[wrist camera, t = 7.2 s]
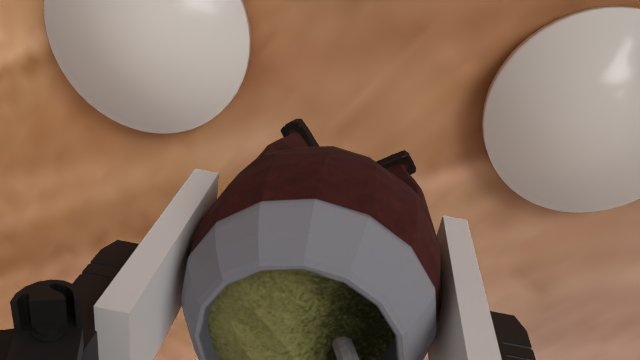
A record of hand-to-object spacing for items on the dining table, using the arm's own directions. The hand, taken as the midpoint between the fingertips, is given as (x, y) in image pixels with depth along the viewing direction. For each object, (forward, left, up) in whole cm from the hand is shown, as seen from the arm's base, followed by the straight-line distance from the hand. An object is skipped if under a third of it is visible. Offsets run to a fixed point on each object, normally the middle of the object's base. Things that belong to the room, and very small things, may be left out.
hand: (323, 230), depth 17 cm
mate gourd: (0, +1, -3) cm, 3 cm away
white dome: (0, +15, -19) cm, 24 cm away
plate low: (0, -13, -19) cm, 23 cm away
